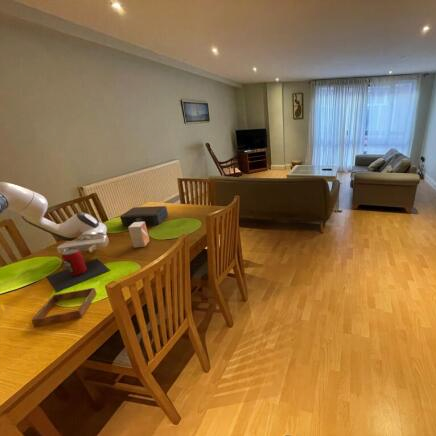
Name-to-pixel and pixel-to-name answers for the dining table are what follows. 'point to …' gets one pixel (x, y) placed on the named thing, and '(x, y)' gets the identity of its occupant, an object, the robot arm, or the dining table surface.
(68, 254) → the beverage can
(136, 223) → the small box
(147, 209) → the cash box
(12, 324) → the dining table surface
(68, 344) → the dining table surface
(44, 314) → the brown wooden frame
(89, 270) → the rubber mat
